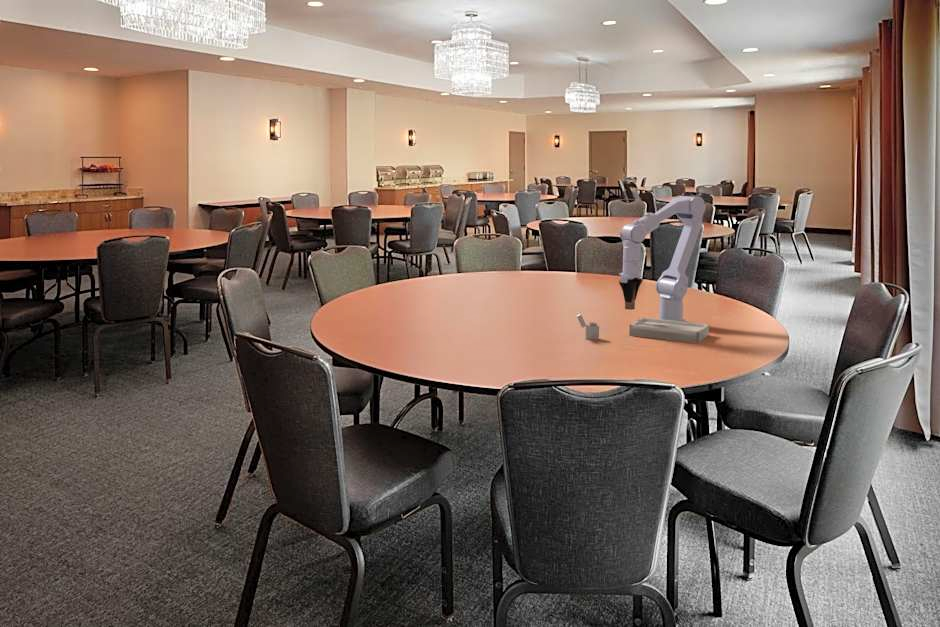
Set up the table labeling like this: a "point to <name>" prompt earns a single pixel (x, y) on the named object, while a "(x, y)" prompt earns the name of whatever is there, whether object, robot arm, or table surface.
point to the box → (669, 330)
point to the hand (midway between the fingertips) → (630, 301)
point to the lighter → (590, 328)
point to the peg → (631, 303)
